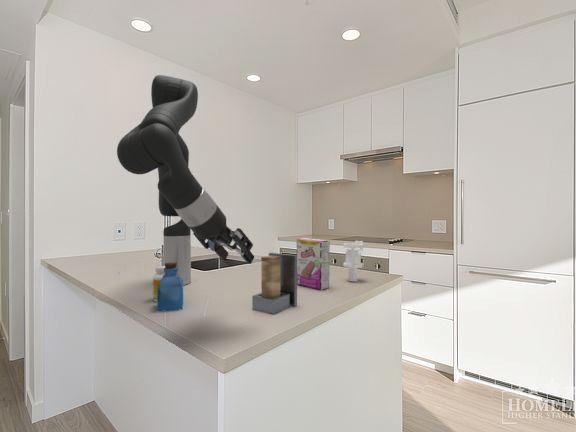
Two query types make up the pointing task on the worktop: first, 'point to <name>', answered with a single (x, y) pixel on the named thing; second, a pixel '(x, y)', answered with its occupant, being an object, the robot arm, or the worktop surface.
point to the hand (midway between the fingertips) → (238, 258)
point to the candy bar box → (313, 263)
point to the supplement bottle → (157, 280)
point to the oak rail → (271, 276)
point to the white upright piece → (353, 259)
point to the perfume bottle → (170, 289)
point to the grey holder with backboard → (286, 287)
